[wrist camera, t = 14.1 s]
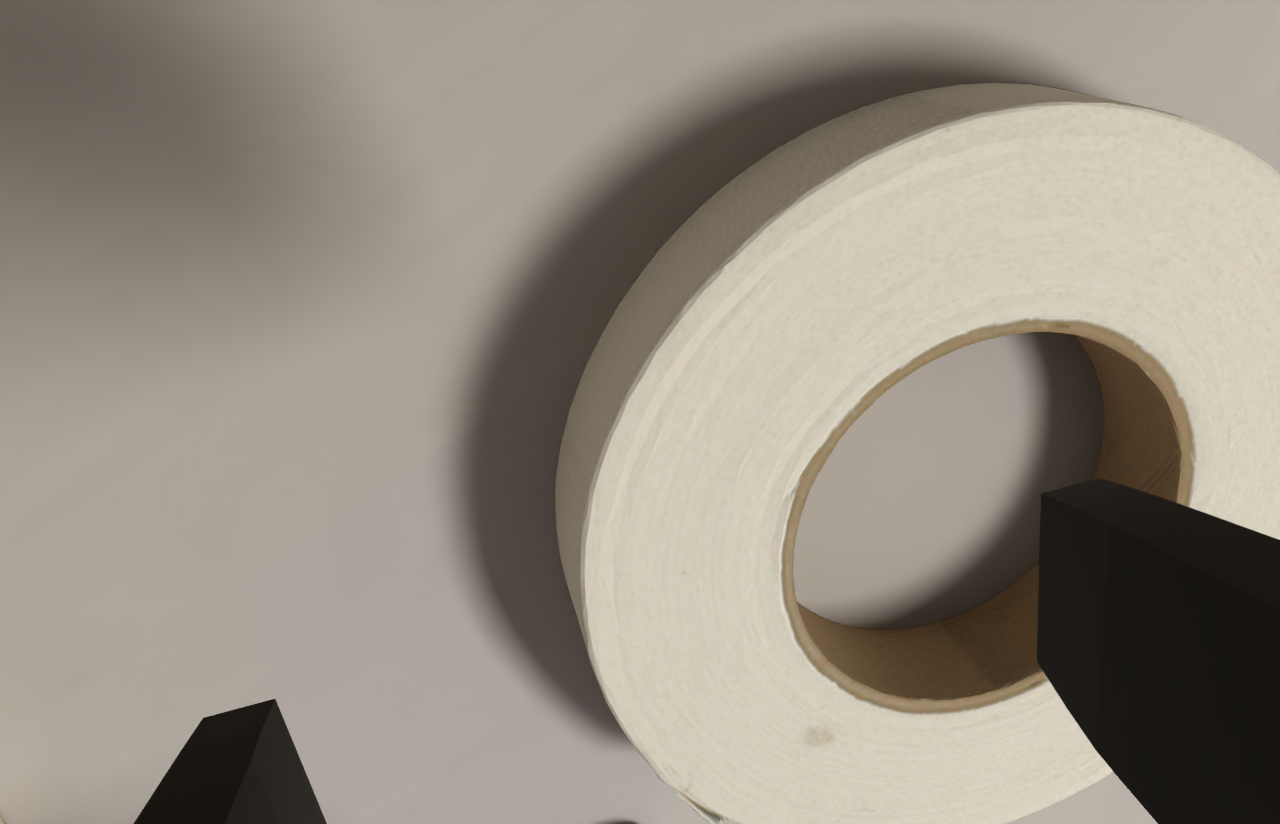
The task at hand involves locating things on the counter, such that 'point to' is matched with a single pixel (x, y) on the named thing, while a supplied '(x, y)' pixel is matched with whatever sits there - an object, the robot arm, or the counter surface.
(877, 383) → the roll of tape
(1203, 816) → the robot arm
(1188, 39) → the counter surface
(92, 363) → the counter surface
